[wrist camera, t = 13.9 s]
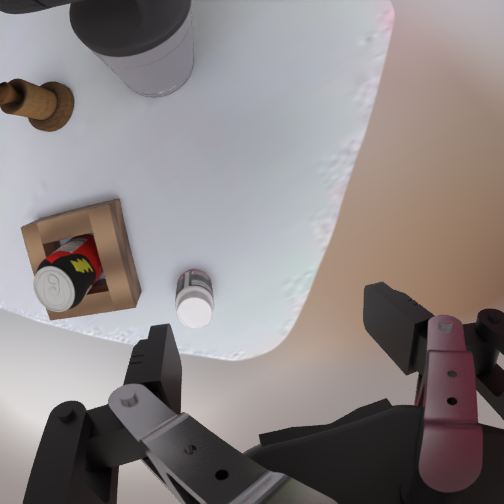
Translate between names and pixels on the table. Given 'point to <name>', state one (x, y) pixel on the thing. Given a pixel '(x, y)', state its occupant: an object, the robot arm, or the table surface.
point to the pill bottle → (194, 299)
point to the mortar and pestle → (38, 103)
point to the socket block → (109, 249)
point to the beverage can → (68, 274)
